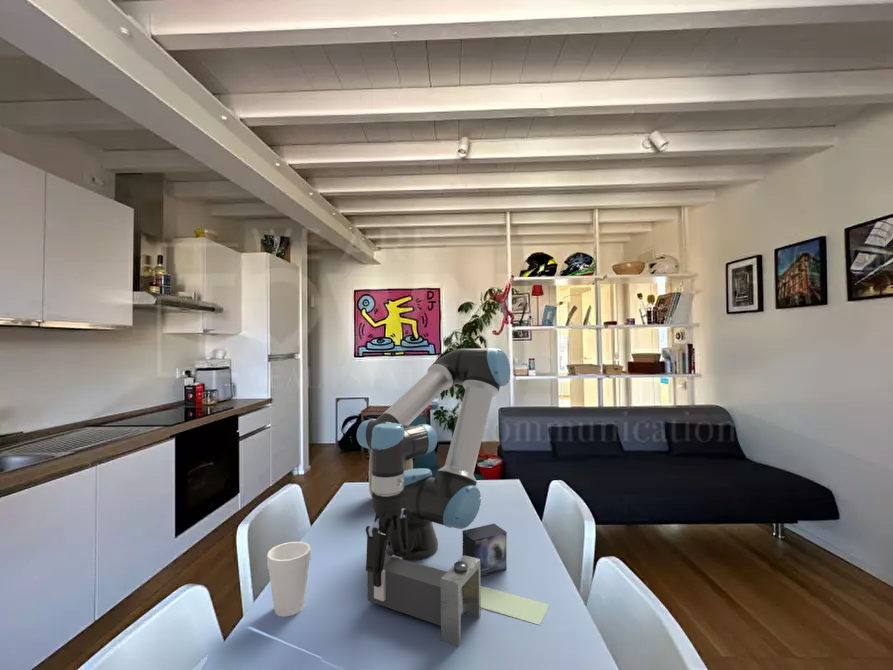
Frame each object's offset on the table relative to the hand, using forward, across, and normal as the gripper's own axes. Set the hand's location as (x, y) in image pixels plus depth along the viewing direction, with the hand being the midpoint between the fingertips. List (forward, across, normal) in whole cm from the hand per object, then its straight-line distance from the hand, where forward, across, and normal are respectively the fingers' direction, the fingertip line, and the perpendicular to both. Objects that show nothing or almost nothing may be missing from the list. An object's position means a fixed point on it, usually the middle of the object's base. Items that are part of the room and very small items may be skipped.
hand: (388, 591), depth 101 cm
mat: (+3, +12, -24) cm, 27 cm away
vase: (+3, +56, +40) cm, 68 cm away
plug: (+2, 0, -6) cm, 6 cm away
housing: (+3, 0, -19) cm, 19 cm away
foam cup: (+3, -12, +19) cm, 23 cm away
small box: (+3, +24, -14) cm, 28 cm away
